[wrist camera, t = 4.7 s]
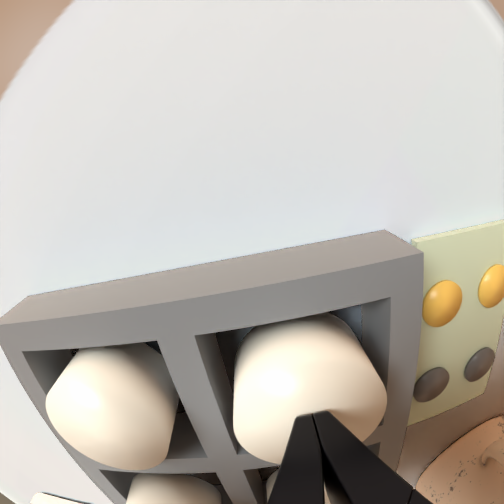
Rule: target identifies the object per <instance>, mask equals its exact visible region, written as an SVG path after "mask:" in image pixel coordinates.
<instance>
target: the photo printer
mask: <svg viewBox="0 0 504 504" xmlns="http://www.w3.org/2000/svg"><path fill="white" fill-rule="evenodd" d="M30 504H82V503H77V502H74V501H70V500H66V499H62V498H58V497H54V496H51V495H47V494H44V493H39V492H38V493H36V494H35V495H34V496H33V498H32V500H31V502H30Z"/></svg>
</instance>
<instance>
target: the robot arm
mask: <svg viewBox="0 0 504 504" xmlns="http://www.w3.org/2000/svg"><path fill="white" fill-rule="evenodd" d="M324 486H325V489H326V492H327V495H328V498H329V501H330V504H433V503H432V502H431V501H429V500H428V499H427V498H425V497H424V496H423V495H422V494H421V493H419V492H418V491H417V490H416V489H413V487H412V486H411V485H410V484H409V483H407V482H406V481H405V480H404V479H403V478H402V477H401V476H399V475H398V474H397V473H396V472H395V471H394V470H393V469H391V468H390V467H389V466H388V465H387V464H386V463H385V462H383V461H382V460H381V459H380V458H379V457H378V456H377V455H376V454H375V453H373V452H372V451H371V450H370V449H369V448H368V447H367V446H366V445H365V444H364V443H362V442H361V441H360V440H359V439H358V438H357V437H356V436H355V435H354V434H353V433H352V432H351V431H350V430H348V429H347V428H346V427H345V426H344V425H343V424H342V423H341V422H340V421H339V420H338V419H337V418H336V417H335V416H334V415H333V414H332V413H331V412H329V411H327V410H326V411H321V412H316V413H314V414H313V415H311V414H307V415H302V416H297V417H296V418H295V420H294V423H293V426H292V430H291V433H290V436H289V440H288V443H287V446H286V449H285V452H284V455H283V459H282V462H281V465H280V468H279V471H278V474H277V477H276V480H275V482H274V485H273V488H272V491H271V494H270V497H269V499H268V502H267V504H325V493H324Z"/></svg>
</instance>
